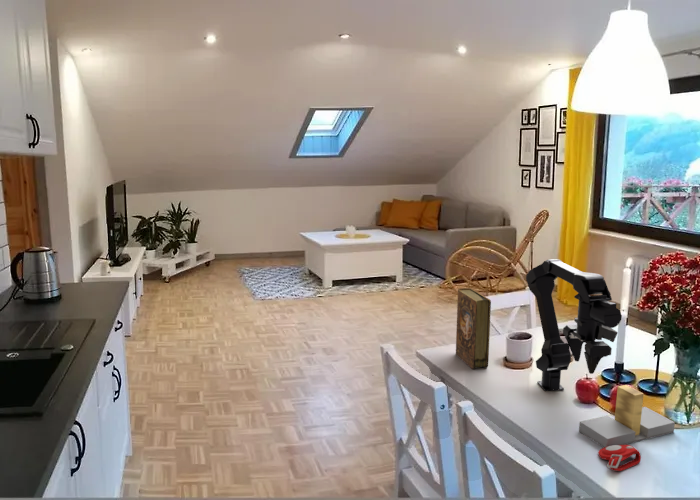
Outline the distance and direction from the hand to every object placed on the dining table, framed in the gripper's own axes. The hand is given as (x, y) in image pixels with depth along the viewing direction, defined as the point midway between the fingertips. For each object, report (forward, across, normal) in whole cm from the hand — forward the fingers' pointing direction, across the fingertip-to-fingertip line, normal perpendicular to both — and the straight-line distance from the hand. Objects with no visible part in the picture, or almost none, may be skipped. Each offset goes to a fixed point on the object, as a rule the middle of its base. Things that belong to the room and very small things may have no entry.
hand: (583, 367), depth 175 cm
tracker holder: (+14, -29, +5) cm, 32 cm away
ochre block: (+12, -15, -6) cm, 20 cm away
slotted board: (+13, -15, -6) cm, 21 cm away
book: (+13, +38, +23) cm, 47 cm away
